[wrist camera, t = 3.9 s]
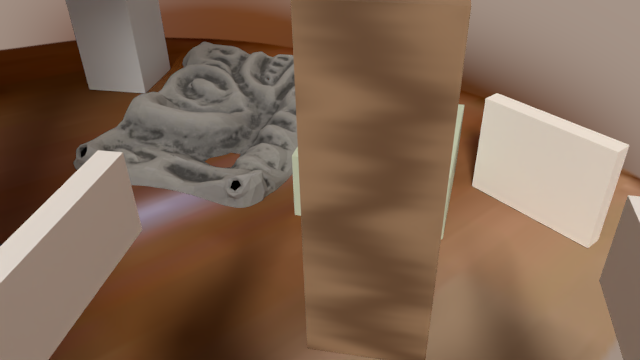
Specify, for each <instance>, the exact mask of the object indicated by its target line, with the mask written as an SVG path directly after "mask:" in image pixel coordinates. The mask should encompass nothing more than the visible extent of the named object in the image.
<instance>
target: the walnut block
mask: <svg viewBox="0 0 640 360" xmlns="http://www.w3.org/2000/svg"><path fill="white" fill-rule="evenodd" d="M470 10H471V0H291V15H292V33H293V34H292V35H293V57H294V78H295V99H296V120H297V141H298V162H299V183H300V205H301V226H302V247H303V268H304V289H305V310H306V331H307V348H308V349H315V350H322V351H329V352H336V353H343V354H350V355H356V356H363V357H370V358H377V359H384V360H425V358H426V350H427V342H428V334H429V327H430V319H431V311H432V304H433V296H434V288H435V281H436V273H437V265H438V257H439V250H440V242H441V234H442V227H443V219H444V211H445V204H446V196H447V188H448V180H449V173H450V165H451V157H452V150H453V142H454V134H455V127H456V119H457V111H458V104H459V96H460V88H461V80H462V72H463V64H464V57H465V49H466V42H467V34H468V27H469V19H470Z"/></svg>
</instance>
